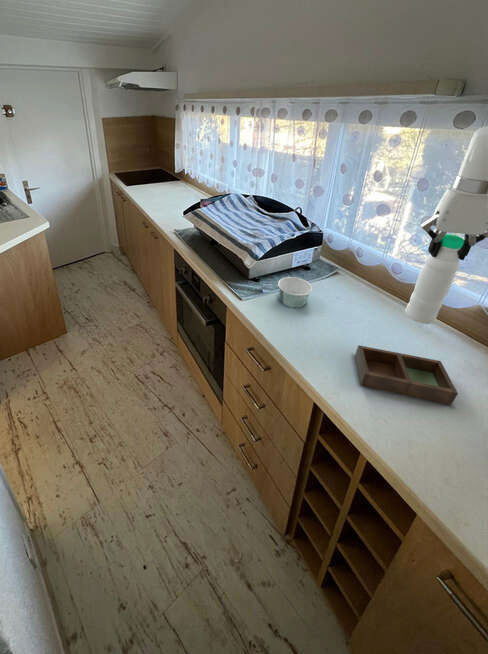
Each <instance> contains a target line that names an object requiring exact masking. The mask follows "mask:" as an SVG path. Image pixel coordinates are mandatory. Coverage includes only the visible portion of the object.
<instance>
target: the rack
mask: <svg viewBox="0 0 488 654" xmlns="http://www.w3.org/2000/svg"><path fill="white" fill-rule="evenodd" d="M354 361H355V365H356V370H357V374H358V375H357V376H358V379H359V384H360V386H361V387H366V388H370V389H373V390H374V389H375V390H379V391H382V392H383V391H384V392H388V393H392V394H397V395H400V396H401V395H402V396H406V397H410V398H414V399H420V400H423V401H428V402H431V403H437V404H440V405H446V406H450V407H451V406H452V404H453V402H454V401H455V399H456V398H457V396H458V395H459V393H458V391H457V389H456V387H455V386H454V383H453V382H452V380H451V378H450V376H449V374H448V372H447V370H446V367H444V364H443V362H442V361H441V360H438V359H437V360H436V359H432V358H427V357H422V356H417V355H411V354H408V353H407V354H406V353H402V352H396V351H392V350H391V351H390V350H385V349H380V348H375V347H370V346H366V345H365V346H364V345H360V344H358V345H357V348H356V351H355V354H354Z"/></svg>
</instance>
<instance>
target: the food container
mask: <svg viewBox="0 0 488 654" xmlns="http://www.w3.org/2000/svg"><path fill="white" fill-rule="evenodd" d="M277 287H278V290H279V292H278V293H279V300H280V302H281V304H283V305H284V306H287V307H291V308H302V307H303V306H305V304H306V302H307V300H308V298H309V296H310V294H311V293H312V291H313V286H312V285H311V283H309V282H308V281H307V280H305V279H303V278H300V277H296V276H286V277H283V278H280V279H279V280H278V282H277Z"/></svg>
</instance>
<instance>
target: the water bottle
mask: <svg viewBox="0 0 488 654" xmlns="http://www.w3.org/2000/svg"><path fill="white" fill-rule="evenodd" d="M440 242H441V247H440V249H439V252H438V254H437V256H436V257H432V256H431V254H430V253H429V254H428V255H427V256H425V259H424V264H423V266H422V268H421V269H420V272H419V274H418V277H417V279H416V282H415V286H414V289H413V291H412V293H411V295H410V298H409V302H408V303H407V305H406V307H405V314H406V316H407V317H408V318H409V319H411V320H412V321H413V322H417V323H418V324H423V325H424V324H425V325H430V324H433V323H435V321H436V320H437V318H438V315H439V311H440V310H441V308H442V307H443V304H444V303H443V302H444V300H445V298H446V296H447V294H448V293H449V291H450V289H451V286H452V284H453V282H454V280H455V276H456V273H457V272H458V271H459V269H460V267H461V264H460V259H459V256H458V254H457V251H458V250H460V249H461V248H462V246H463V244H464V238H463V237H461V236H459V235H456V234H452V233H446V234H445V236H444V237H443V238H442V239H441V241H440Z"/></svg>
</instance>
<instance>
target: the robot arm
mask: <svg viewBox="0 0 488 654" xmlns="http://www.w3.org/2000/svg"><path fill="white" fill-rule="evenodd" d="M432 226H434V227H435V229H434V230H433V229H432ZM420 228H421V229H422V230H423V231H424V232H426V234H428V236H429V237H430V238H431V240H430V243H429V246H428V248H427V251H428V253H429V254H431V256H432V257H436V256H437V254H438V252H439V249H440V247H441V242H440V241H441V239H442V238H443V237H444V236H445V234H460V235H464V238H463V239H464V244H463V246H462V248H461V249H460V250H458V251H457V254H458V256H459V258H458V259H459V261H464V260H465V258H466V257H467V256H468V255H469V253H470V250H471V248H472V247H475V246H476V244H478V243H480V242H481V241H484V240H485V239H488V125H486V126H481V127H479V128H478V129H476V130H475V131H474V133H473V135H472V137H471V139H470V142H469V144H468V147H467V150H466V153H465V155H464V157H463V161H462V162H461V165H460V168H459V171H458V173H457V176H456V177H455V180H454V183H453V185H452V187H448V188H447V189H446V190H445V192H444V193H443V195H442V197H441V198H440V200H439V201H438V203H437V205H436V208H435V210H434V212H433V213H432V215H431V217H430V218H429V219H427V220H426V221H425V222H423V223H422V224H420Z"/></svg>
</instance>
